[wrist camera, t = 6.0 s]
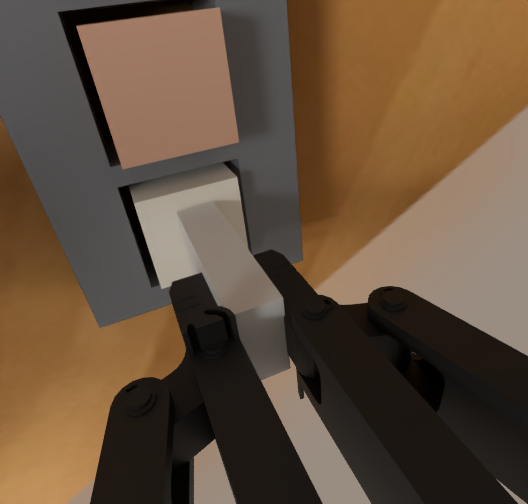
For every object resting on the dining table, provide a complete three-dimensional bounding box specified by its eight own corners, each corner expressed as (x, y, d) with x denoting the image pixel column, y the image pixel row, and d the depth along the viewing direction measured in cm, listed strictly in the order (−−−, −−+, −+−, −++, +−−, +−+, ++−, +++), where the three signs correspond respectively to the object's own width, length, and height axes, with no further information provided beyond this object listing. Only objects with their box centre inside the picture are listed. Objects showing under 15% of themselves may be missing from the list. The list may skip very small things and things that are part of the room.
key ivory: (149, 248, 19) (161, 289, 16) (124, 172, 17) (133, 203, 14) (225, 226, 20) (250, 260, 17) (212, 151, 18) (237, 176, 15)
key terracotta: (114, 141, 15) (122, 169, 12) (77, 24, 13) (76, 26, 10) (211, 121, 16) (239, 142, 13) (191, 9, 14) (219, 7, 11)
